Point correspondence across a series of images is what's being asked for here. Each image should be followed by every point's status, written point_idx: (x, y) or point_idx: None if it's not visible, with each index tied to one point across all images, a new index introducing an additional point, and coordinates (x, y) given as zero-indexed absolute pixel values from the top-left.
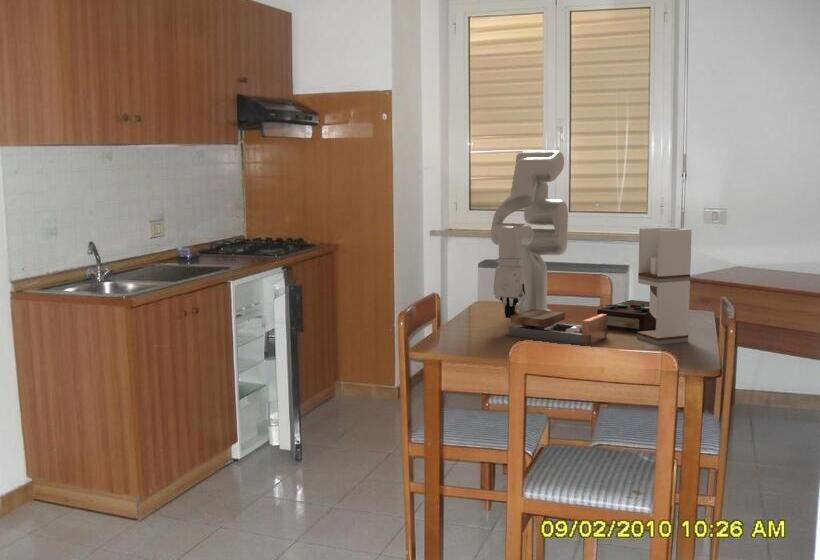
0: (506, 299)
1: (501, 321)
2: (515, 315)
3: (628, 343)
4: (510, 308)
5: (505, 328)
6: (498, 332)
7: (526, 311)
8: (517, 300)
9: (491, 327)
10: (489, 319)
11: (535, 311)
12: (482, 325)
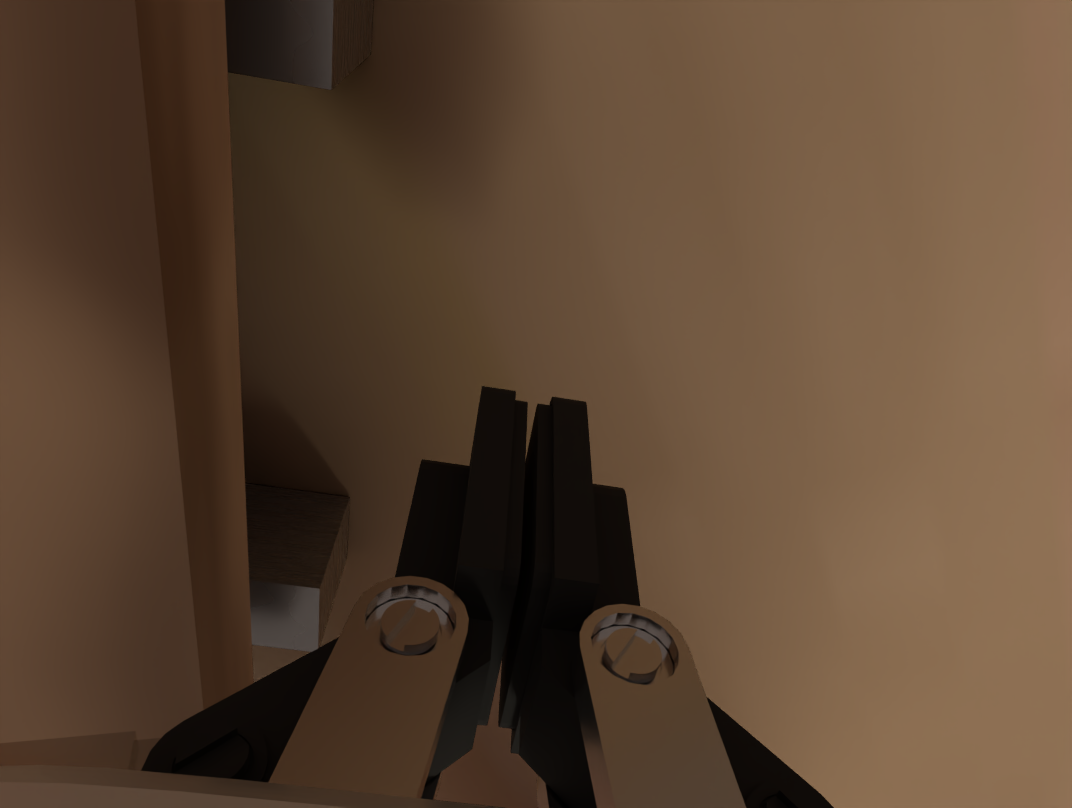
0: (597, 806)
1: (809, 765)
2: (22, 7)
3: None
4: (457, 556)
5: (649, 467)
6: (664, 147)
7: (163, 631)
8: (147, 769)
9: (868, 462)
10: (965, 804)
11: (10, 680)
12: (1020, 534)
